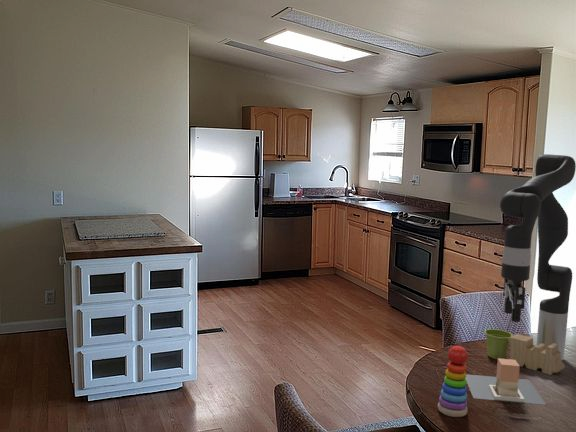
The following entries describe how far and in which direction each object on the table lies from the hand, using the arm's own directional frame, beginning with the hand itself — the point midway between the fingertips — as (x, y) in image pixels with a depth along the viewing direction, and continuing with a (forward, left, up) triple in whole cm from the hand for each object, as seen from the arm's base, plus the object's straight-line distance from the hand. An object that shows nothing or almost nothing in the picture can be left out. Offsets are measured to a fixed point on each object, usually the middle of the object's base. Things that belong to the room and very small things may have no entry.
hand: (511, 317), depth 161 cm
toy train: (-26, +15, -25) cm, 39 cm away
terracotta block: (0, 0, -19) cm, 18 cm away
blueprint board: (-5, 0, -25) cm, 25 cm away
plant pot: (-36, +5, -25) cm, 44 cm away
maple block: (0, 0, -24) cm, 24 cm away
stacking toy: (+12, -17, -25) cm, 32 cm away
